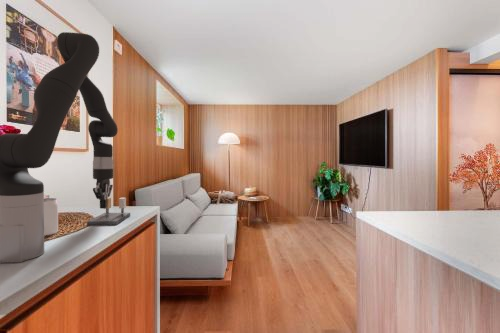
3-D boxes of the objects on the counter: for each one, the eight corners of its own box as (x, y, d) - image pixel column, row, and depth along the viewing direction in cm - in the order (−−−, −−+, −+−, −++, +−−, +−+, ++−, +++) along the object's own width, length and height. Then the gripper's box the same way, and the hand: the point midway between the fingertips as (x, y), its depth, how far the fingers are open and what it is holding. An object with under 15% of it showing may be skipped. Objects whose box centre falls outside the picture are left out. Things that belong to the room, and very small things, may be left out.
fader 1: (108, 214, 109) (108, 198, 109) (103, 214, 109) (103, 198, 108) (111, 212, 111) (111, 197, 111) (106, 212, 111) (106, 197, 111)
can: (62, 231, 90) (62, 198, 89) (46, 237, 83) (46, 201, 83) (46, 230, 90) (46, 197, 90) (28, 236, 84) (28, 200, 83)
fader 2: (123, 213, 110) (123, 198, 110) (118, 213, 110) (119, 198, 110) (125, 212, 113) (126, 197, 113) (121, 212, 113) (121, 197, 112)
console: (116, 224, 99) (116, 221, 99) (87, 225, 98) (87, 221, 98) (130, 215, 114) (130, 212, 114) (104, 216, 113) (104, 212, 113)
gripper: (105, 168, 99) (105, 211, 100) (119, 167, 112) (119, 205, 113) (85, 168, 98) (85, 211, 99) (101, 166, 112) (101, 205, 112)
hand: (103, 208), depth 106 cm, fingers closed
